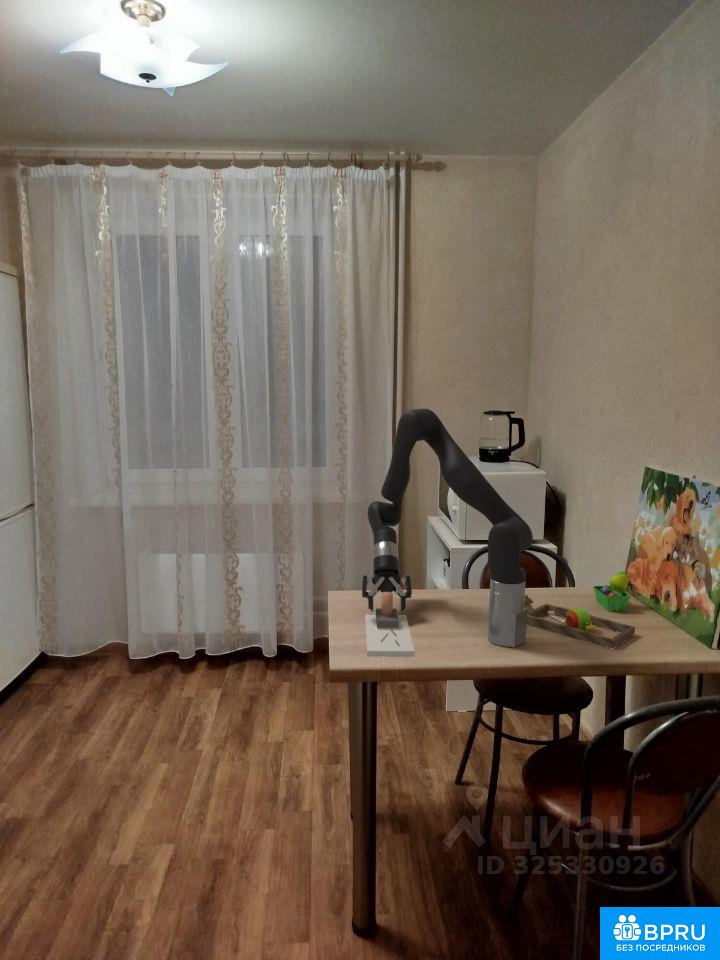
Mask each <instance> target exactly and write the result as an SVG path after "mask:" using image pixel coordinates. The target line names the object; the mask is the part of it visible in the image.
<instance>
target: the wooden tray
mask: <svg viewBox="0 0 720 960" xmlns="http://www.w3.org/2000/svg"><path fill="white" fill-rule="evenodd" d="M533 609H534V610H532V611H530V612H527V624H526V625H528V626H531V627H535V628H539V629H542V630H545V631H549V632H552V633H556V634H559V635H562V636H565V637H569V638H573V639H575V638H576V639H575V640H580V641H582V640H584V641H583V642H585V641H588V642H587V643H589V642H592V643H595V644H598V645H597V646H599V645H601V646H600V647H602V646H604V647H603V648H606V647H608V648H607V649H609V648H613V649H614V648H615V647H617V646H618V645H619V646H621V645H622V644H623V643H622V642H624V641H625V640H627V639H628V638H630V637H631V636H632V635H634V636H635V632H636V631H635V630H636V626H633V625H629V624H625V623H621V622H618V621H613V620H609V619H607V618H604V617H603V618H602V617H599V616H596V615H592V614H590V616H591V618H592V622H593V625H596V626H595V627H597V626H600V627H599V628H601V627H604V628H608V629H611V630H615V631H618V632H617V633H618V634H617V635H615V636H613V637H612V638H610V637H607V636H603V635H601V634H596V633H594V632H593V633H590V632H587V631H583V630H580V629H576V628H573V627H569V626H566V625H563V623H562V624H561V623H558V622H554V621H552V620H549V619H548V620H547V619H544V618H540V617H541V616H544V615H547V611H554V612H555V616H557V615H559V616H558V617H561V616H562V617H561V618H564V617H565V619H566V617H567V613H568V611H569V610H570V609H569V608H566V607H561V606H558V605H553V604H549V603H545V604H543V605H540V606H538V607H536V608H533ZM604 628H603V629H604ZM608 629H607V630H608ZM611 630H610V631H611ZM615 631H614V632H615ZM619 632H621V633H619ZM631 638H632V637H631ZM631 638H630V639H631ZM628 640H629V639H628ZM628 640H627V641H628ZM625 642H626V641H625ZM625 642H624V643H625ZM592 643H591V644H592ZM621 643H622V644H621ZM595 644H594V645H595ZM620 644H621V645H620ZM619 646H618V647H619ZM618 647H617V648H618ZM615 649H616V648H615ZM615 649H614V650H615Z"/></svg>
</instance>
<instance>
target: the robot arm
mask: <svg viewBox="0 0 720 960" xmlns="http://www.w3.org/2000/svg"><path fill="white" fill-rule="evenodd" d="M395 434H396V435H395V439H394V442H393V443H394V444H393V450H392V454H391V459H390V464H389V468H388V471H387V472H386V473H387V474H386V476H385V479H384V482H383V485H382V487H381V490H380V491H381V496H382V498H384V499H385V500H387V501H389V502H390V503H389V502H384V501H379V500H378V501H377V500H375V501H372V502H371V503H370V504H369V505H368V509H367V519H368V523H369V525H370V529H371V531H372V534H373V535H372V536H373V552H372V562H373V563H372V567H373V569H372V571H373V575H372V577H370V576H369V577H368V576H367V575H362V576H363V577H362V587H361V588H362V589H361V597H362V598H366V599H367V604H368V605H367V606H368V607H367V609H368V610H370V612H374V597H375V596H376V595H377V594H378V593H379V592H380V593H383V592H391V593H393V592H394V593H395V594H396V596H398V597H399V598H400V599H399V600H400V601H399V603H400V605H399V606H400V612H401V613H402V612H404V611H405V610H406V607H407V604H406V602H407V601H406V599H410V598H412V593H413V592H412V591H413V590H412V584H411V583H412V582H411V581H412V580H411V576H410V575H406V576H405V577H401V576H400V567H399V566H400V565H399V562H400V561H399V550H398V542H397V537H398V536H397V532H396V529H394V528H393V527H396V526H398V524H400V522H401V520H402V509H403V507H402V506H403V500H404V496H405V493H406V492H407V487H408V485H409V483H410V478H411V465H410V461H411V460H410V459H411V453H412V452H413V449H414V447H415V445H416V443H417V442H419V441H420V442H421V441H424V442H425V443H427V444H428V446H429V447H430V448H431V449H432V450H433V452H434V453H435V455H436V456H437V458H438V462H439V466H440V472H441V475H442V477H443V480H444V481H445V483H446V484H447V485H448V487H450V489H451V490H452V492H453V493H454V494H455V495H456V497H458V498H459V499H460V500H461V501H462V502H464V503H465V504H466V505H468V506H470V507H471V508H473V509H474V510H476V511H477V512H479V513H481V514H482V515H483V516H484V517H485V518H486V519H487V520H488V521H489V522H490V523H491V525H492V527H491V528H490V530H489V533H488V537H487V566H488V570H489V573H490V575H489V576H490V578H489V579H490V581H489V600H488V602H489V603H488V605H489V606H488V626H487V627H488V630H487V641H489V642H490V643H492V644H494V645H497V646H501V647H510V648H512V649H513V648H517V647H518V646H520V645H521V644H523V643H526V640H527V625H528V624H527V608H525V607H524V600H525V595H526V594H525V593H526V579H527V578H526V577H527V576H526V575H527V574H526V570H525V569H524V568H523V567H521V563H520V561H521V560H520V557H521V556H520V553H522V552H524V551H526V550H529V548H530V547H531V546H532V544H533V540H534V536H533V531H532V529H531V527H530V526H529V524H528V523H527V522H526V520H524V519H523V518H522V517H521V516H520V515H519V514H518V513H517V512H516V511H515V510H514V509H513V508H512V507H511V506H510V505H509V504H508V503H507V502H506V501H505V500H504V499H503V498H502V497H501V496H500V494H499V493H498V492H497V490H496V489H495V488H494V486H492V485H491V483H490V482H489V481H488V480H487V479H486V477H485V476H484V474H483V473H482V472H481V471H480V469H479V468H478V467H477V466H476V464H474V463H473V461H471V459H470V457H468V455H466V453H465V452H464V451H463V449H462V448H461V447H460V446H459V444H458V443H457V442H456V441H455V440H454V439H453V436H451V434H450V433H449V431H448V430H447V429H446V427H445V425H444V424H443V422H442V420H441V419H440V418H439V416H438V415H437V414H436V413H435V411H433V410H431V409H429V408H416V409H410V410H406V411H405V412H403V413H402V414H401V415H400V418H399V420H398V424H397V428H396V433H395ZM370 583H372V584H373V587H372V588H371V590H369V591H367V590H368V589H367V586H369V585H370ZM401 583H402V584H403V585H404V586H405V589H406V590H405V591H404V590H403V588H402V587H401V586H400V584H401Z"/></svg>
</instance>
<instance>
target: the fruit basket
mask: <svg viewBox="0 0 720 960" xmlns="http://www.w3.org/2000/svg"><path fill="white" fill-rule="evenodd" d="M629 579H630V578H629V577H628V573H627V572H625V571H619V572H618V573H617V574H616V575H614V576H612V577H611V578H610V579H609V580H608V581H609V584H605V585H593V586H592V587H593V590H594V594H595V599H596V603H597V602H599V603H600V604H601V605H603V606H602V607H603V608H604V607H605V608H606V609H605V608H604V609H605V610H606V611H607V610H609V611H610V612H612V611H611V610H614V611H613V612H625V611H626V608H627V605H628V603H629V600H630V599H631V598H632V597H631V595H630V594H629V593H627V592H625V591H626V590H627V588H628V586H629V585H628V582H629ZM599 603H598V604H599ZM600 604H599V605H600ZM601 605H600V606H601ZM615 610H616V611H615ZM620 610H621V611H620ZM609 611H608V612H609Z"/></svg>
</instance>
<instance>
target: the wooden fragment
mask: <svg viewBox="0 0 720 960" xmlns="http://www.w3.org/2000/svg"><path fill="white" fill-rule="evenodd" d="M531 603H533V599H531V598H530V597H529V596H528V595H527V594H525V600H524V607H525V608H527V612H530V611H532V610H534V609H535V608H534V607H532V606H533V605H531Z"/></svg>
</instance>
